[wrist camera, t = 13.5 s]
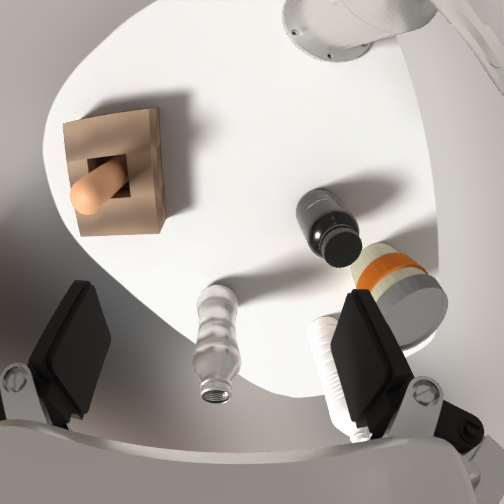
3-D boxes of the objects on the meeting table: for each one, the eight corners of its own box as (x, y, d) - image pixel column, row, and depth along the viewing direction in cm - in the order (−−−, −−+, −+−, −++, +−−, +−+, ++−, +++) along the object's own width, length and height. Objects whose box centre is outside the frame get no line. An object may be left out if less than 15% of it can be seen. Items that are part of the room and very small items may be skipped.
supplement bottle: (309, 180, 40) (337, 211, 30) (346, 200, 42) (382, 237, 31) (286, 220, 43) (304, 263, 32) (323, 237, 45) (350, 282, 34)
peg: (107, 156, 36) (67, 181, 25) (133, 153, 36) (98, 177, 26) (110, 183, 38) (73, 216, 27) (136, 180, 38) (104, 213, 28)
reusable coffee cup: (410, 271, 50) (451, 323, 37) (355, 305, 52) (385, 364, 39) (394, 219, 44) (445, 268, 31) (330, 257, 47) (364, 319, 34)
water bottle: (302, 323, 53) (335, 443, 32) (334, 310, 52) (381, 427, 31) (314, 349, 58) (344, 457, 36) (343, 338, 57) (382, 443, 35)
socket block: (79, 119, 33) (62, 123, 28) (158, 107, 33) (148, 108, 29) (94, 222, 40) (80, 236, 36) (166, 218, 41) (159, 233, 37)
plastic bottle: (190, 295, 48) (176, 396, 31) (217, 271, 46) (214, 374, 29) (218, 315, 51) (216, 415, 34) (245, 294, 49) (255, 396, 32)
